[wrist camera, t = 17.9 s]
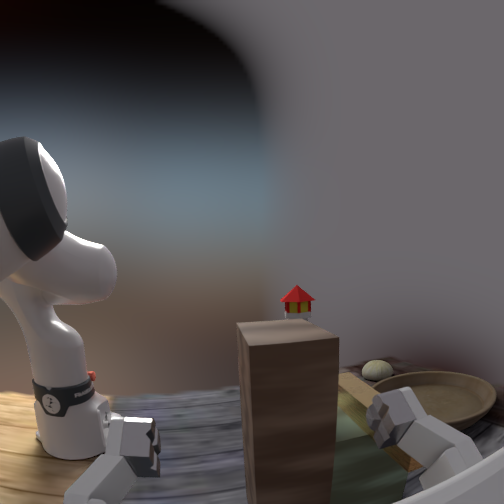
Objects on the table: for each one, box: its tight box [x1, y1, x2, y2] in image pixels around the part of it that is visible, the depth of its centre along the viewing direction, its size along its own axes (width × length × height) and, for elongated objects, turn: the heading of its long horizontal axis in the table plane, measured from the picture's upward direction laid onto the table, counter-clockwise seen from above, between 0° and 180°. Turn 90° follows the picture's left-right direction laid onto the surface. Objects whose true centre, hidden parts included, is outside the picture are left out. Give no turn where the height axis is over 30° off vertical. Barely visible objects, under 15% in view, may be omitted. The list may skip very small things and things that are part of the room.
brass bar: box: [338, 372, 423, 472], centre depth 29 cm, size 20×3×3 cm, turn 8°
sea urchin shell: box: [362, 360, 393, 381], centre depth 84 cm, size 9×8×8 cm
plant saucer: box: [372, 371, 497, 431], centre depth 57 cm, size 31×31×5 cm
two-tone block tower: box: [237, 318, 408, 504], centre depth 33 cm, size 12×18×27 cm, turn 98°
